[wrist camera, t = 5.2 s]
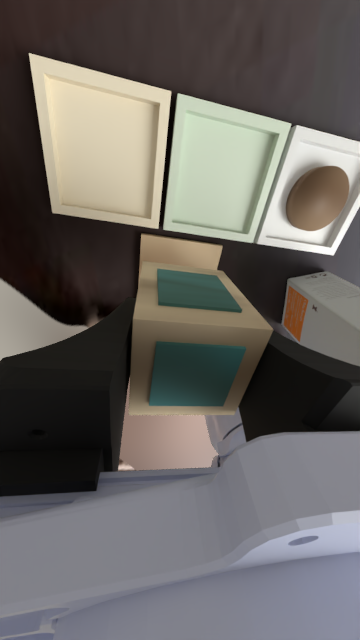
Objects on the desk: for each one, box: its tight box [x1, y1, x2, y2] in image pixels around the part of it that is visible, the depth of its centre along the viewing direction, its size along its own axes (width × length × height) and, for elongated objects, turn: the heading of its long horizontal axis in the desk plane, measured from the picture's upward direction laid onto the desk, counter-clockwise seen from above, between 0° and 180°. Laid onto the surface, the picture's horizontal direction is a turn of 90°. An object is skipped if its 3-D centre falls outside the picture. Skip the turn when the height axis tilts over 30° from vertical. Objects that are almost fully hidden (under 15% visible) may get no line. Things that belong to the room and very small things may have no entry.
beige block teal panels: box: [129, 261, 273, 415], centre depth 10 cm, size 5×4×6 cm
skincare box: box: [282, 271, 360, 366], centre depth 18 cm, size 6×4×12 cm
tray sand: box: [29, 53, 171, 229], centre depth 14 cm, size 8×8×1 cm
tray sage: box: [163, 93, 291, 243], centre depth 15 cm, size 8×8×1 cm
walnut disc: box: [286, 166, 349, 231], centre depth 17 cm, size 4×4×1 cm
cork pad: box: [138, 233, 223, 287], centre depth 20 cm, size 7×7×1 cm
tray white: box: [253, 125, 360, 255], centre depth 17 cm, size 8×8×1 cm
